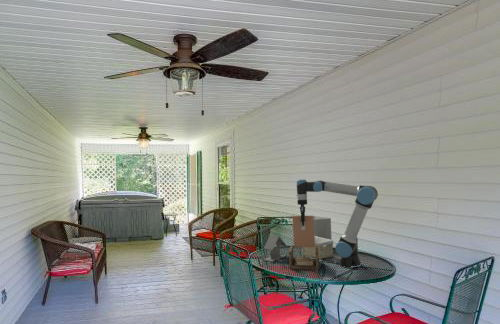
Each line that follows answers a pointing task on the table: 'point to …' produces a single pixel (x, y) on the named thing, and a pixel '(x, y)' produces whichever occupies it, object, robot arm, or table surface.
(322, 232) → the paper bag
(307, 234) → the sheet
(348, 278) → the table surface
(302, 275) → the table surface
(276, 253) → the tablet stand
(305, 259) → the offcut stack
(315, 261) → the rack
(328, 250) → the storage basket
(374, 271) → the table surface
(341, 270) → the table surface
